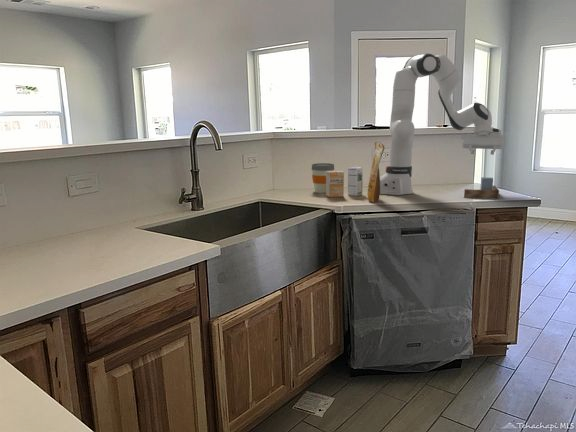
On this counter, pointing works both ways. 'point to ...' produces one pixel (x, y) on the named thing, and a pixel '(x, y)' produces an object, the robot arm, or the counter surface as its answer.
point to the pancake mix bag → (375, 175)
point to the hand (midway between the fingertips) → (482, 153)
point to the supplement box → (334, 183)
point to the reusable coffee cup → (320, 175)
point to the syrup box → (355, 181)
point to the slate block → (486, 183)
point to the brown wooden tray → (482, 193)
